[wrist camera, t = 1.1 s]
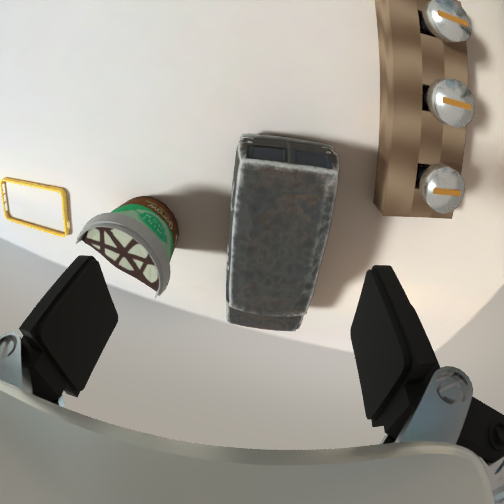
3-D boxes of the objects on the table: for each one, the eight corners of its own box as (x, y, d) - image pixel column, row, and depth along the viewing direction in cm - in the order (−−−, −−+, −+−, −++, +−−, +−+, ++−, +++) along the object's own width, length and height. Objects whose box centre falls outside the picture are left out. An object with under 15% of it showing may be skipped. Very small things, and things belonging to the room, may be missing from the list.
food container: (205, 222, 37) (185, 266, 28) (182, 253, 39) (159, 300, 31) (129, 169, 33) (86, 199, 25) (111, 205, 36) (72, 240, 28)
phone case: (4, 175, 34) (-1, 178, 33) (67, 187, 35) (62, 191, 34) (9, 216, 39) (5, 219, 38) (71, 234, 40) (67, 238, 39)
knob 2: (408, 152, 27) (432, 166, 22) (442, 156, 26) (469, 172, 21) (403, 192, 29) (425, 213, 24) (436, 194, 29) (460, 215, 24)
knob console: (372, -14, 19) (384, -24, 15) (444, 7, 18) (460, 1, 14) (373, 202, 33) (383, 215, 30) (437, 205, 32) (451, 218, 29)
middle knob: (411, 74, 22) (438, 73, 17) (446, 83, 22) (476, 85, 17) (410, 115, 24) (437, 123, 20) (445, 122, 24) (474, 132, 19)
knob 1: (405, 2, 17) (429, -10, 12) (441, 14, 17) (469, 6, 12) (409, 39, 20) (435, 32, 15) (445, 49, 19) (474, 47, 14)
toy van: (333, 142, 30) (356, 162, 22) (298, 306, 43) (301, 358, 35) (240, 129, 30) (226, 145, 22) (228, 299, 43) (218, 350, 35)
